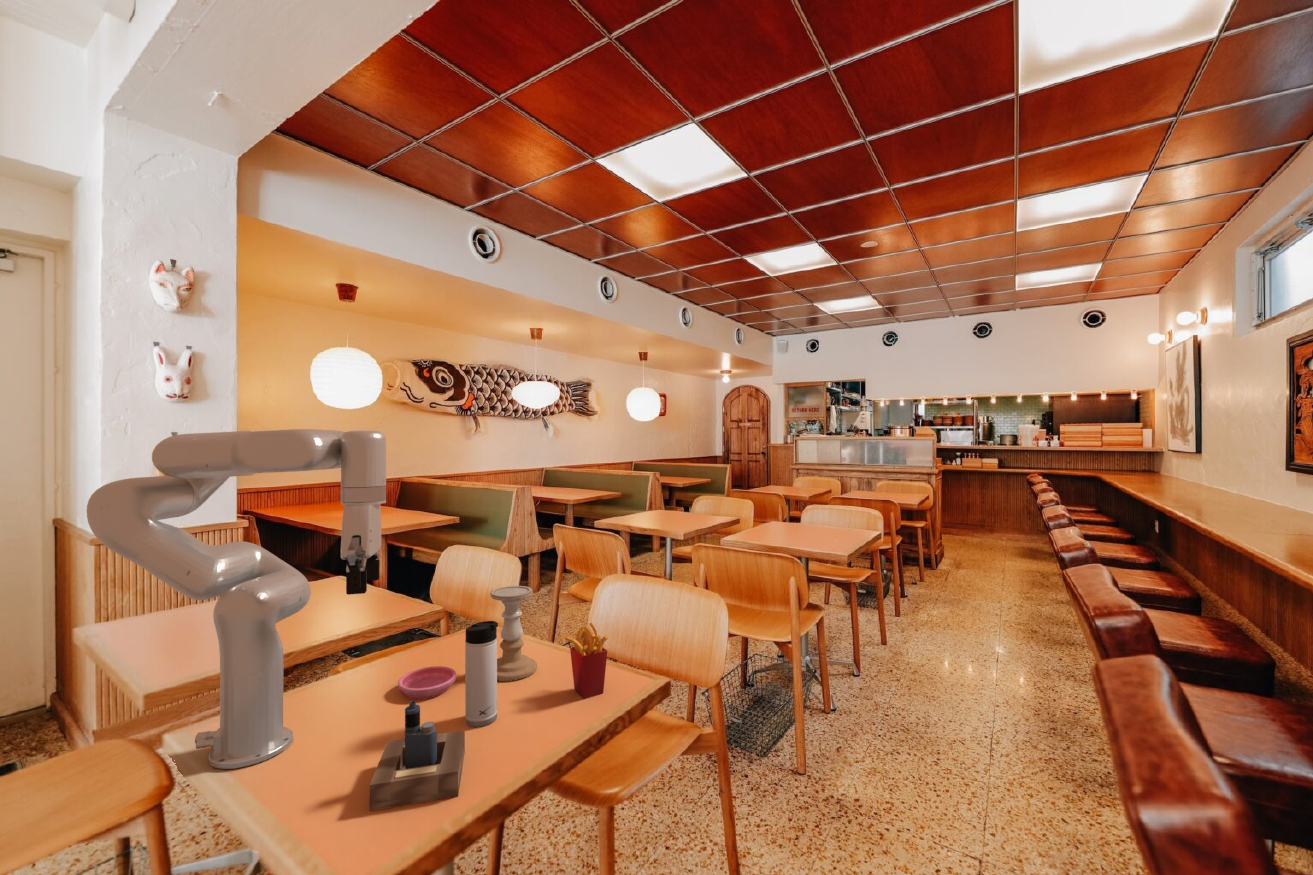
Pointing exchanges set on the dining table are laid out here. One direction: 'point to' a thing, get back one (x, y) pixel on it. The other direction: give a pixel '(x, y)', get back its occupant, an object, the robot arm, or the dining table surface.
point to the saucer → (427, 682)
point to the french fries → (588, 662)
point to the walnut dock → (417, 774)
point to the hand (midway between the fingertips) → (363, 586)
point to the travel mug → (481, 674)
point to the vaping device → (419, 739)
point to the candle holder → (512, 635)
